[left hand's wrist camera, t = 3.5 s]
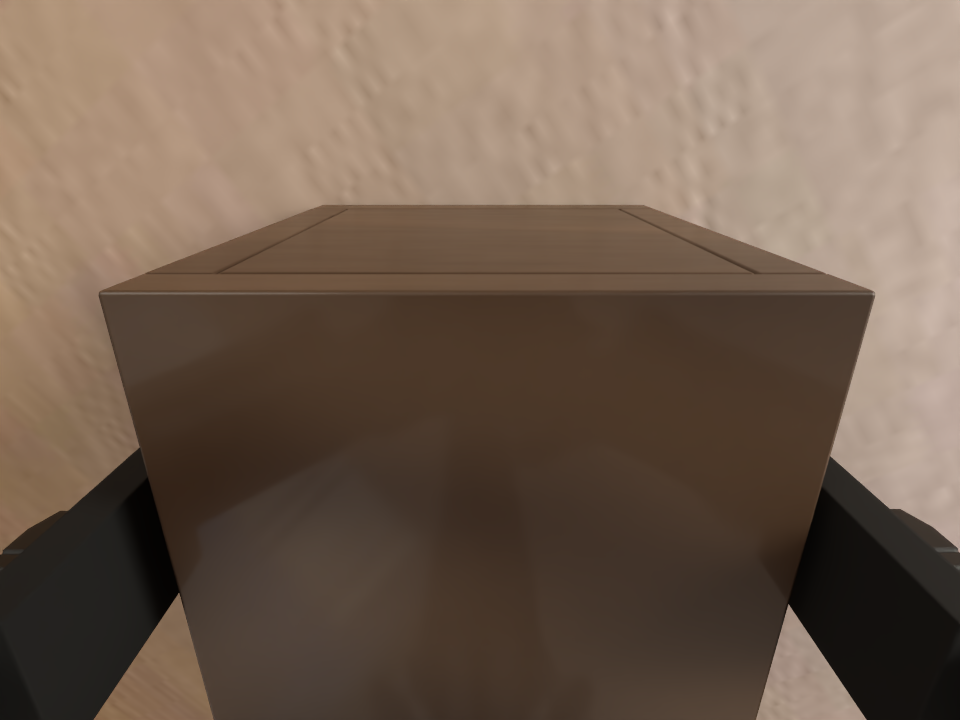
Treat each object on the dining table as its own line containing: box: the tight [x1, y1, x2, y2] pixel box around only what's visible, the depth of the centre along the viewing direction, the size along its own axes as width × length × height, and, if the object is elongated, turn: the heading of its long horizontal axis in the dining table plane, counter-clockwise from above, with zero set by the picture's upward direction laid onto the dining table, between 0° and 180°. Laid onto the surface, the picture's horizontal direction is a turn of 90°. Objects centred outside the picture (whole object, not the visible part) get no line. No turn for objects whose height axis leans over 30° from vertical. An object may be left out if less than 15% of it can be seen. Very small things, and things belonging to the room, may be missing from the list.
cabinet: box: [99, 205, 875, 720], centre depth 16 cm, size 21×11×11 cm, turn 0°
